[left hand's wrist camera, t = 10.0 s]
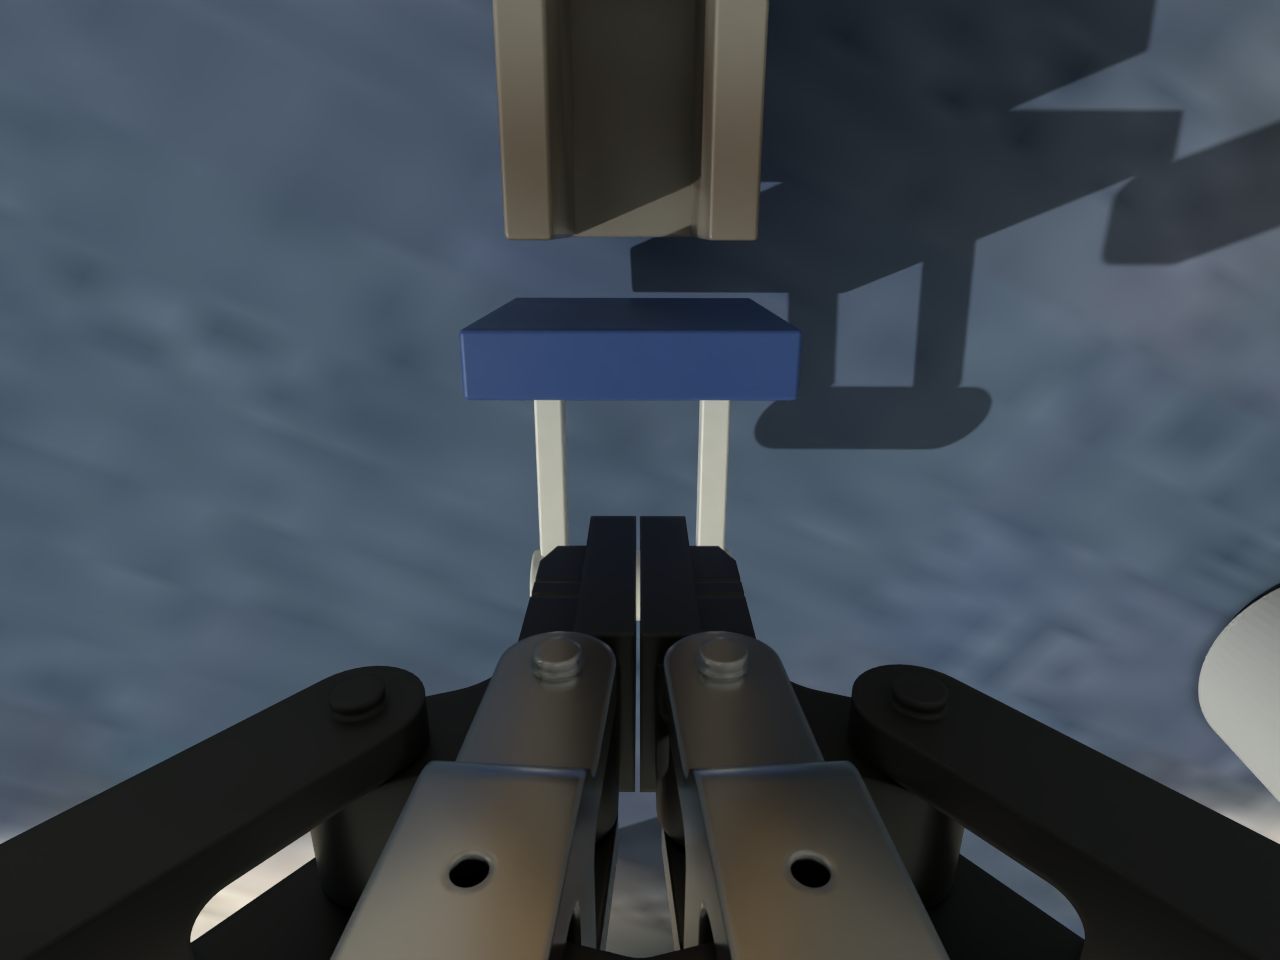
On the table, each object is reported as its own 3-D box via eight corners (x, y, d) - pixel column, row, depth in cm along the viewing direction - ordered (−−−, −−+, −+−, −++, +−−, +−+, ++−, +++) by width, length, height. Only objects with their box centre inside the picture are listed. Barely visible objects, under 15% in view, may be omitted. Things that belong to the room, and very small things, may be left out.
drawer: (739, 566, 20) (778, 697, 15) (526, 566, 20) (484, 697, 15) (795, -619, 13) (914, -1254, 8) (469, -621, 13) (341, -1261, 8)
